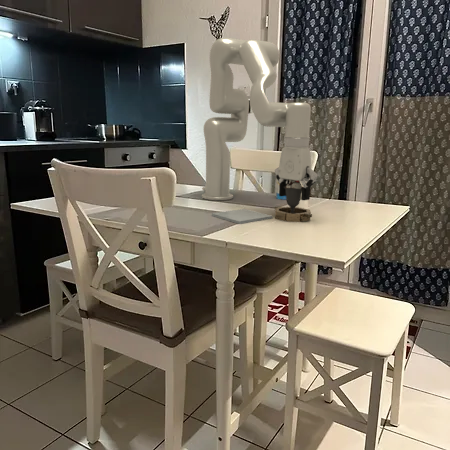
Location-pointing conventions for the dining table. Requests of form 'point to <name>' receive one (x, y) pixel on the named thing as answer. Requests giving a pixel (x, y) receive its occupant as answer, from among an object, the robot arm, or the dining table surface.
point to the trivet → (242, 216)
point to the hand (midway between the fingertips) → (294, 197)
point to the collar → (292, 214)
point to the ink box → (278, 191)
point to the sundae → (293, 193)
